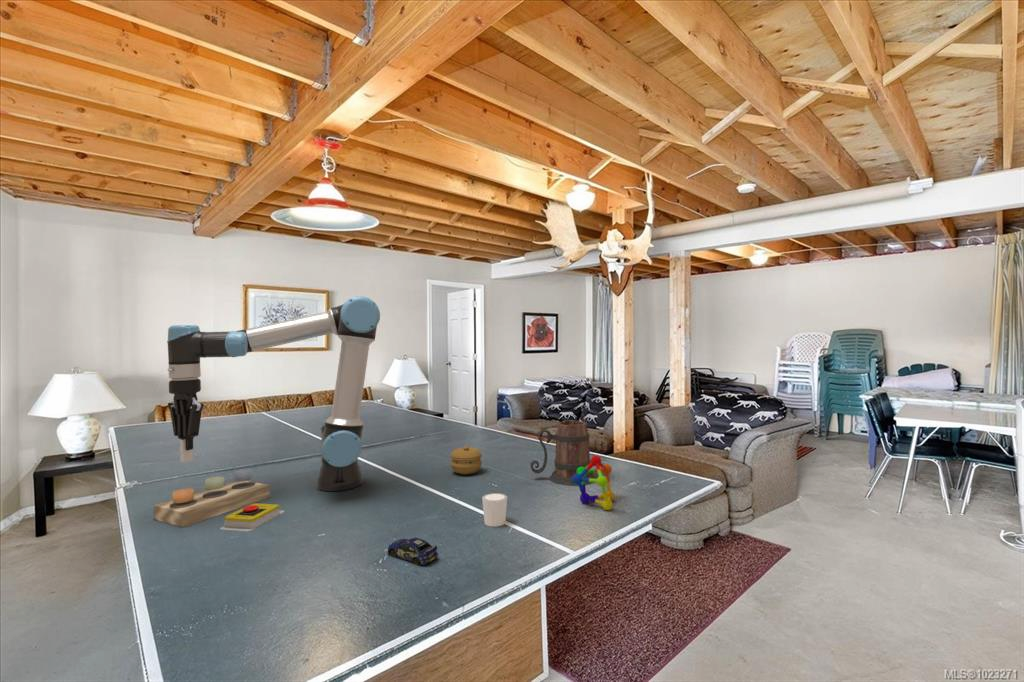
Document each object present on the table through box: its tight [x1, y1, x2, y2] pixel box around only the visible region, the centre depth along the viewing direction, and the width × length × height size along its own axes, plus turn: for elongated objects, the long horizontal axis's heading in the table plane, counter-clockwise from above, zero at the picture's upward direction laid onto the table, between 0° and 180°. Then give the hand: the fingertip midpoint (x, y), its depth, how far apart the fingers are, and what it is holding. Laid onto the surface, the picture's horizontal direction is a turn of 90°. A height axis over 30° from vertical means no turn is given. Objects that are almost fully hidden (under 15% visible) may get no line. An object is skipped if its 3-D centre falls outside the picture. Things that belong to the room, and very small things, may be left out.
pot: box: [450, 445, 483, 475], centre depth 176 cm, size 12×12×10 cm
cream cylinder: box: [481, 492, 508, 528], centre depth 127 cm, size 7×7×7 cm
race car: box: [384, 537, 439, 566], centre depth 108 cm, size 15×7×4 cm, turn 64°
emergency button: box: [219, 502, 285, 532], centre depth 132 cm, size 9×4×15 cm
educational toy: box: [573, 455, 615, 511], centre depth 140 cm, size 16×13×15 cm
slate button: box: [233, 468, 253, 482], centre depth 150 cm, size 5×5×3 cm
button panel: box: [153, 480, 271, 528], centre depth 142 cm, size 14×26×4 cm, turn 154°
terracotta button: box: [172, 487, 195, 503], centre depth 133 cm, size 5×5×3 cm
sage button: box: [204, 475, 226, 490], centre depth 142 cm, size 5×5×3 cm
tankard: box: [529, 419, 598, 487], centre depth 166 cm, size 24×17×20 cm
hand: (186, 460), depth 134 cm, fingers closed
